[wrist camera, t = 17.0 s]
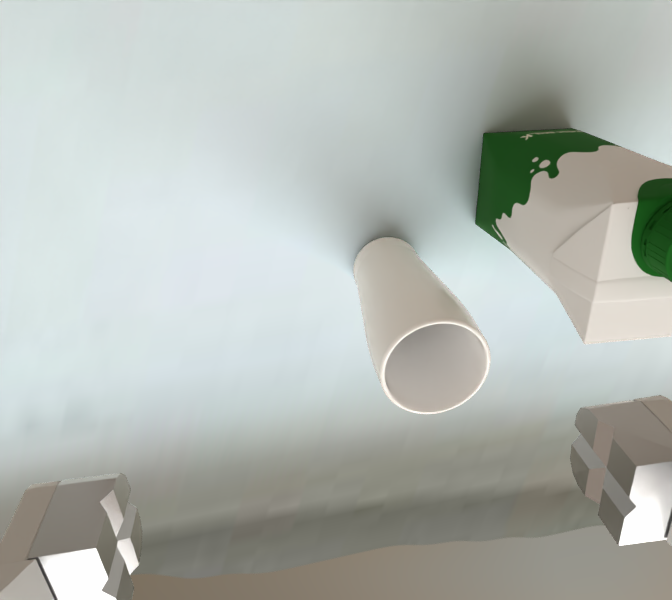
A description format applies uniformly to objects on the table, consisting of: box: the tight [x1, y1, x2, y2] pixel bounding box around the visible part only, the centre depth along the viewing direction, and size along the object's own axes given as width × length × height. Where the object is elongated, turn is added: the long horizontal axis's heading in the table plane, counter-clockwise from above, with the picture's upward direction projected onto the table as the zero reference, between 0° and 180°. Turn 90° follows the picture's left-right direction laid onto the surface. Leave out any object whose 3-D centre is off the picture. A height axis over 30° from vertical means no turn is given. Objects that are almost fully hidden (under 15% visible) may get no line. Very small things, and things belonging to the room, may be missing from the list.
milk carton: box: [475, 128, 672, 344], centre depth 36 cm, size 9×9×20 cm
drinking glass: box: [353, 237, 491, 414], centre depth 40 cm, size 7×7×15 cm
